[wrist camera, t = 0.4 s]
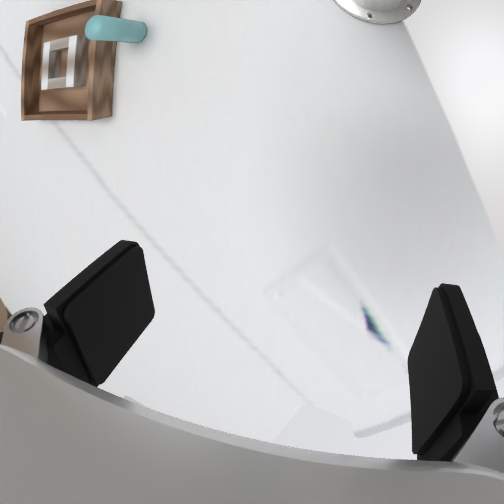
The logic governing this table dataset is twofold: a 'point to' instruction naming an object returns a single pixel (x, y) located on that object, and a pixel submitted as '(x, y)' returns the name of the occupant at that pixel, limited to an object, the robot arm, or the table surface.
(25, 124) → the table surface
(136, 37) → the peg
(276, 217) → the table surface
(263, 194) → the table surface
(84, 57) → the box
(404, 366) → the table surface
